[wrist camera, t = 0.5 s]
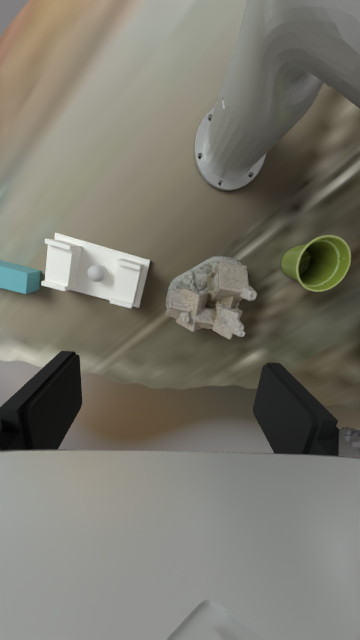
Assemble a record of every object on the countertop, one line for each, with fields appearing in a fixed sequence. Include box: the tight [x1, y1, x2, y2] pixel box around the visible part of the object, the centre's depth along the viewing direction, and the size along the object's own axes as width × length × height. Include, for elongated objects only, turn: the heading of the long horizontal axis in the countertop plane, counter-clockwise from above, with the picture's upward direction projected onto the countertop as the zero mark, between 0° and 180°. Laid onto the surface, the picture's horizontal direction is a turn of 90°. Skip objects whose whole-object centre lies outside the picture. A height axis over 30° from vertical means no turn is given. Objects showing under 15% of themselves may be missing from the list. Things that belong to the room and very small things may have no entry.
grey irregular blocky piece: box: [166, 256, 257, 339], centre depth 38 cm, size 16×16×15 cm
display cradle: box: [41, 233, 150, 308], centre depth 40 cm, size 10×18×6 cm, turn 74°
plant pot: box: [281, 235, 351, 292], centre depth 40 cm, size 9×9×9 cm
